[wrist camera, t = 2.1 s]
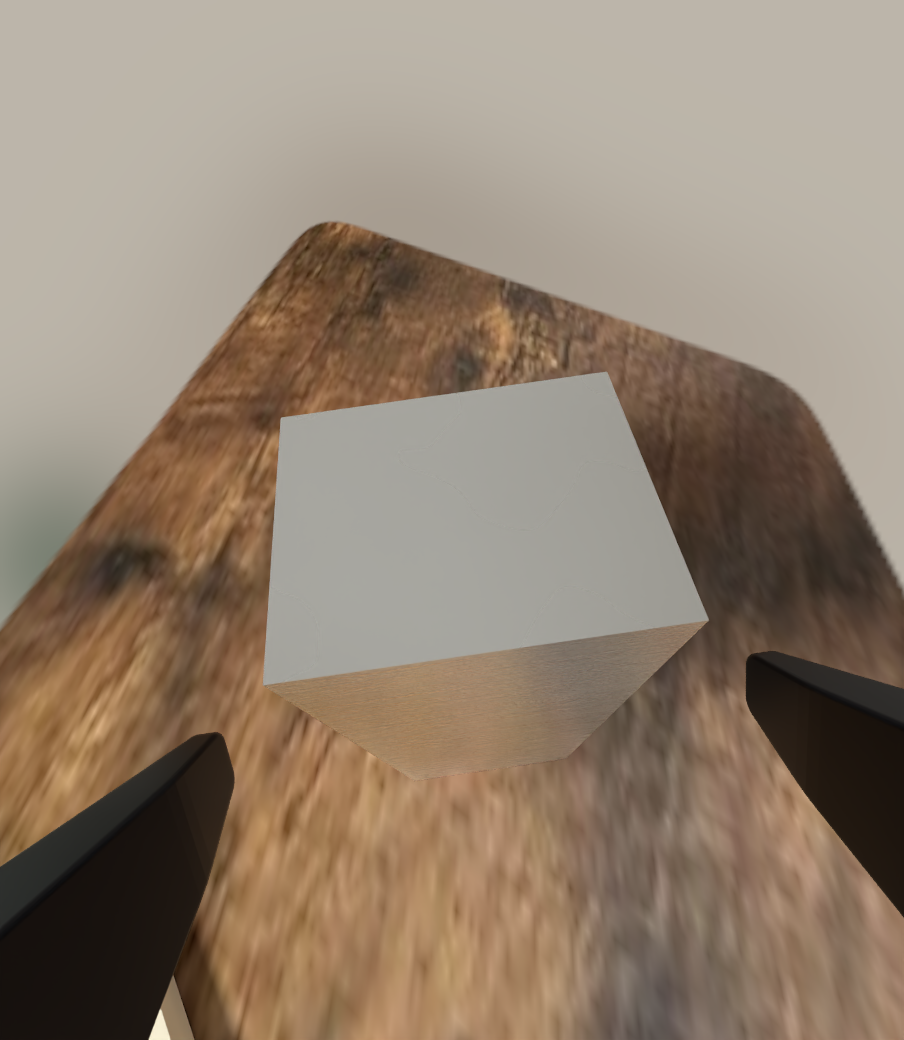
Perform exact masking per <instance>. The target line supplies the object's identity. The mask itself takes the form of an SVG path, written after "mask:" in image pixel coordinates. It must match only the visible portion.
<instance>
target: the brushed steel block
mask: <svg viewBox="0 0 904 1040" xmlns="http://www.w3.org/2000/svg"><path fill="white" fill-rule="evenodd" d="M708 621H709V619H708V617H707V614H706V612H705V609H704V607H703V605H702V602H701V600H700V597H699V595H698V592H697V590H696V587H695V585H694V583H693V580H692V578H691V575H690V573H689V570H688V568H687V566H686V563H685V561H684V558H683V556H682V553H681V551H680V549H679V546H678V544H677V541H676V539H675V536H674V534H673V531H672V529H671V527H670V524H669V522H668V519H667V517H666V514H665V512H664V510H663V507H662V505H661V502H660V500H659V497H658V495H657V492H656V490H655V488H654V485H653V483H652V480H651V478H650V475H649V473H648V471H647V468H646V466H645V463H644V461H643V458H642V456H641V454H640V451H639V449H638V446H637V444H636V441H635V439H634V436H633V434H632V432H631V429H630V427H629V424H628V422H627V419H626V417H625V415H624V412H623V410H622V407H621V405H620V402H619V400H618V397H617V395H616V393H615V390H614V388H613V385H612V383H611V380H610V378H609V376H608V373H607V372H601V373H594V374H587V375H580V376H573V377H566V378H559V379H552V380H545V381H538V382H531V383H524V384H517V385H509V386H502V387H495V388H488V389H481V390H474V391H467V392H460V393H453V394H446V395H439V396H432V397H425V398H417V399H410V400H403V401H396V402H389V403H382V404H375V405H368V406H361V407H354V408H347V409H340V410H333V411H325V412H318V413H311V414H304V415H297V416H290V417H283V418H281V424H280V439H279V454H278V469H277V484H276V499H275V513H274V528H273V543H272V558H271V573H270V588H269V603H268V617H267V632H266V647H265V662H264V677H263V686H265V687H266V688H268V689H270V690H271V691H273V692H274V693H276V694H277V695H279V696H281V697H282V698H284V699H285V700H287V701H289V702H290V703H292V704H293V705H295V706H297V707H298V708H300V709H301V710H303V711H304V712H306V713H308V714H309V715H311V716H312V717H314V718H316V719H317V720H319V721H320V722H322V723H324V724H325V725H327V726H328V727H330V728H331V729H333V730H335V731H336V732H338V733H339V734H341V735H343V736H344V737H346V738H347V739H349V740H350V741H352V742H354V743H355V744H357V745H358V746H360V747H362V748H363V749H365V750H366V751H368V752H370V753H371V754H373V755H374V756H376V757H377V758H379V759H381V760H382V761H384V762H385V763H387V764H389V765H390V766H392V767H393V768H395V769H397V770H398V771H400V772H401V773H403V774H404V775H406V776H408V777H409V778H411V779H412V780H414V781H419V780H426V779H432V778H439V777H446V776H453V775H459V774H466V773H473V772H480V771H487V770H493V769H500V768H507V767H514V766H520V765H527V764H534V763H541V762H547V761H554V760H561V759H566V758H567V757H568V756H569V755H570V754H571V753H572V752H573V751H574V750H575V749H576V748H577V747H578V746H579V745H580V744H581V743H582V742H584V741H585V740H586V739H587V738H588V737H589V736H590V735H591V734H592V733H593V732H594V731H595V730H596V729H597V728H598V727H599V726H600V725H601V724H602V723H603V722H604V721H605V720H606V719H607V718H608V717H609V716H610V715H611V714H613V713H614V712H615V711H616V710H617V709H618V708H619V707H620V706H621V705H622V704H623V703H624V702H625V701H626V700H627V699H628V698H629V697H630V696H631V695H632V694H633V693H634V692H635V691H636V690H637V689H638V688H639V687H640V686H642V685H643V684H644V683H645V682H646V681H647V680H648V679H649V678H650V677H651V676H652V675H653V674H654V673H655V672H656V671H657V670H658V669H659V668H660V667H661V666H662V665H663V664H664V663H665V662H666V661H667V660H668V659H669V658H671V657H672V656H673V655H674V654H675V653H676V652H677V651H678V650H679V649H680V648H681V647H682V646H683V645H684V644H685V643H686V642H687V641H688V640H689V639H690V638H691V637H692V636H693V635H694V634H695V633H696V632H697V631H698V630H700V629H701V628H702V627H703V626H704V625H705V624H706V623H707V622H708Z"/></svg>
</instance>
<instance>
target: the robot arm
mask: <svg viewBox="0 0 904 1040" xmlns="http://www.w3.org/2000/svg"><path fill="white" fill-rule="evenodd" d="M746 701H747V705H748V707H749V710H750V712H751V713H752V715H753V716H754V718H755V719H756V721H757V722H758V724H759V725H760V727H761V729H762V730H763V732H764V733H765V735H766V736H767V738H768V739H769V741H770V742H771V744H772V745H773V747H774V748H775V750H776V751H777V753H778V754H779V756H780V757H781V759H782V760H783V762H784V763H785V765H786V766H787V768H788V769H789V771H790V772H791V774H792V775H793V777H794V779H795V780H796V781H797V783H798V784H799V786H800V787H801V789H802V790H803V791H804V793H805V794H806V796H807V797H808V798H809V799H810V801H811V802H812V803H813V805H814V806H815V807H816V809H817V810H818V811H819V812H820V814H821V815H822V816H823V817H824V819H825V820H826V821H827V822H828V824H829V825H830V826H831V827H832V829H833V830H834V831H835V832H836V833H837V835H838V836H839V837H840V838H841V840H842V841H843V842H844V843H845V845H846V846H847V847H848V848H849V850H850V851H851V852H852V853H853V855H854V856H855V857H856V858H857V860H858V861H859V862H860V863H861V865H862V866H863V867H864V868H865V870H866V871H867V872H868V873H869V875H870V876H871V877H872V878H873V880H874V881H875V882H876V883H877V885H878V886H879V887H880V888H881V890H882V891H883V892H884V893H885V895H886V896H887V897H888V898H889V900H890V901H891V902H892V903H893V905H894V906H895V907H896V908H897V910H898V911H899V912H900V913H901V915H902V916H903V917H904V689H902V688H898V687H895V686H891V685H888V684H885V683H881V682H878V681H874V680H871V679H868V678H864V677H861V676H858V675H854V674H851V673H847V672H844V671H841V670H837V669H834V668H830V667H827V666H824V665H820V664H817V663H813V662H810V661H807V660H803V659H800V658H797V657H793V656H790V655H786V654H783V653H780V652H776V651H768V652H761V653H754V654H751V655H750V656H749V657H748V658H747V661H746ZM234 779H235V778H234V771H233V767H232V764H231V760H230V757H229V753H228V750H227V746H226V743H225V740H224V737H223V736H222V734H220V733H218V732H213V733H206V734H200V735H195V736H193V737H191V738H190V739H188V740H187V741H186V742H184V743H183V744H181V745H180V746H178V747H177V748H175V749H174V750H172V751H171V752H169V753H168V754H166V755H165V756H163V757H162V758H160V759H159V760H157V761H156V762H154V763H153V764H152V765H150V766H149V767H147V768H146V769H144V770H143V771H141V772H140V773H138V774H137V775H135V776H134V777H132V778H131V779H129V780H128V781H126V782H125V783H123V784H122V785H120V786H119V787H118V788H116V789H115V790H113V791H112V792H110V793H109V794H107V795H106V796H104V797H103V798H101V799H100V800H98V801H97V802H95V803H94V804H92V805H91V806H89V807H88V808H86V809H85V810H84V811H82V812H81V813H79V814H78V815H76V816H75V817H73V818H72V819H70V820H69V821H67V822H66V823H64V824H63V825H61V826H60V827H58V828H57V829H55V830H54V831H52V832H51V833H49V834H48V835H47V836H45V837H44V838H42V839H41V840H39V841H38V842H36V843H35V844H33V845H32V846H30V847H29V848H27V849H26V850H24V851H23V852H21V853H20V854H18V855H17V856H15V857H14V858H13V859H11V860H10V861H8V862H7V863H5V864H4V865H2V866H1V867H0V1040H149V1038H150V1035H151V1032H152V1030H153V1027H154V1024H155V1022H156V1019H157V1016H158V1014H159V1011H160V1008H161V1006H162V1003H163V1001H164V998H165V995H166V993H167V990H168V987H169V985H170V982H171V979H172V977H173V974H174V971H175V969H176V966H177V963H178V961H179V958H180V955H181V953H182V950H183V947H184V945H185V942H186V940H187V937H188V934H189V932H190V929H191V926H192V924H193V921H194V918H195V916H196V913H197V910H198V908H199V905H200V902H201V900H202V897H203V894H204V891H205V888H206V886H207V883H208V880H209V876H210V873H211V870H212V866H213V863H214V859H215V855H216V852H217V848H218V844H219V840H220V837H221V833H222V829H223V826H224V822H225V818H226V815H227V811H228V807H229V804H230V800H231V796H232V793H233V789H234Z"/></svg>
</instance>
